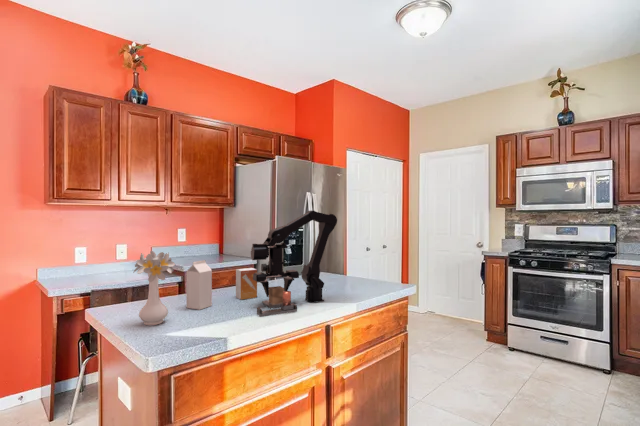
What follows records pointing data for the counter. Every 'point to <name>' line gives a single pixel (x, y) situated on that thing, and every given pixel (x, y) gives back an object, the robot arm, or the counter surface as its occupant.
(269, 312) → the rail
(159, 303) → the flower vase
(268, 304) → the plate
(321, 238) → the robot arm
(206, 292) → the milk carton
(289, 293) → the handle
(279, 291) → the block
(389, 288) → the counter surface
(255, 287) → the small box
